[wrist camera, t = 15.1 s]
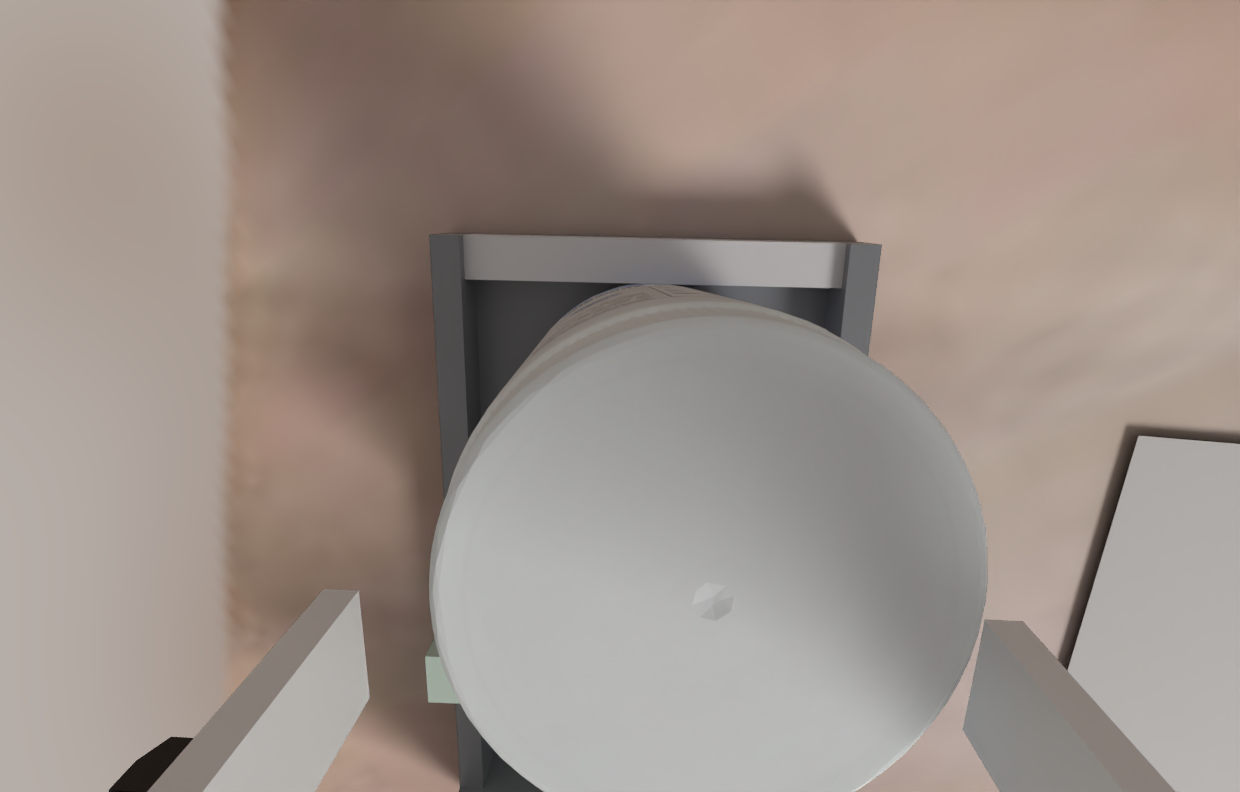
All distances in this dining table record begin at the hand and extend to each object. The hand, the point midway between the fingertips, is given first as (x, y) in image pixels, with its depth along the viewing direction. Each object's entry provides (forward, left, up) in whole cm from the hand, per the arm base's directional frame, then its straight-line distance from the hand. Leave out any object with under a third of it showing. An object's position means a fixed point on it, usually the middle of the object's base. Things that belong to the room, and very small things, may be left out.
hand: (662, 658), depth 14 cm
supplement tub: (-2, 0, -12) cm, 12 cm away
